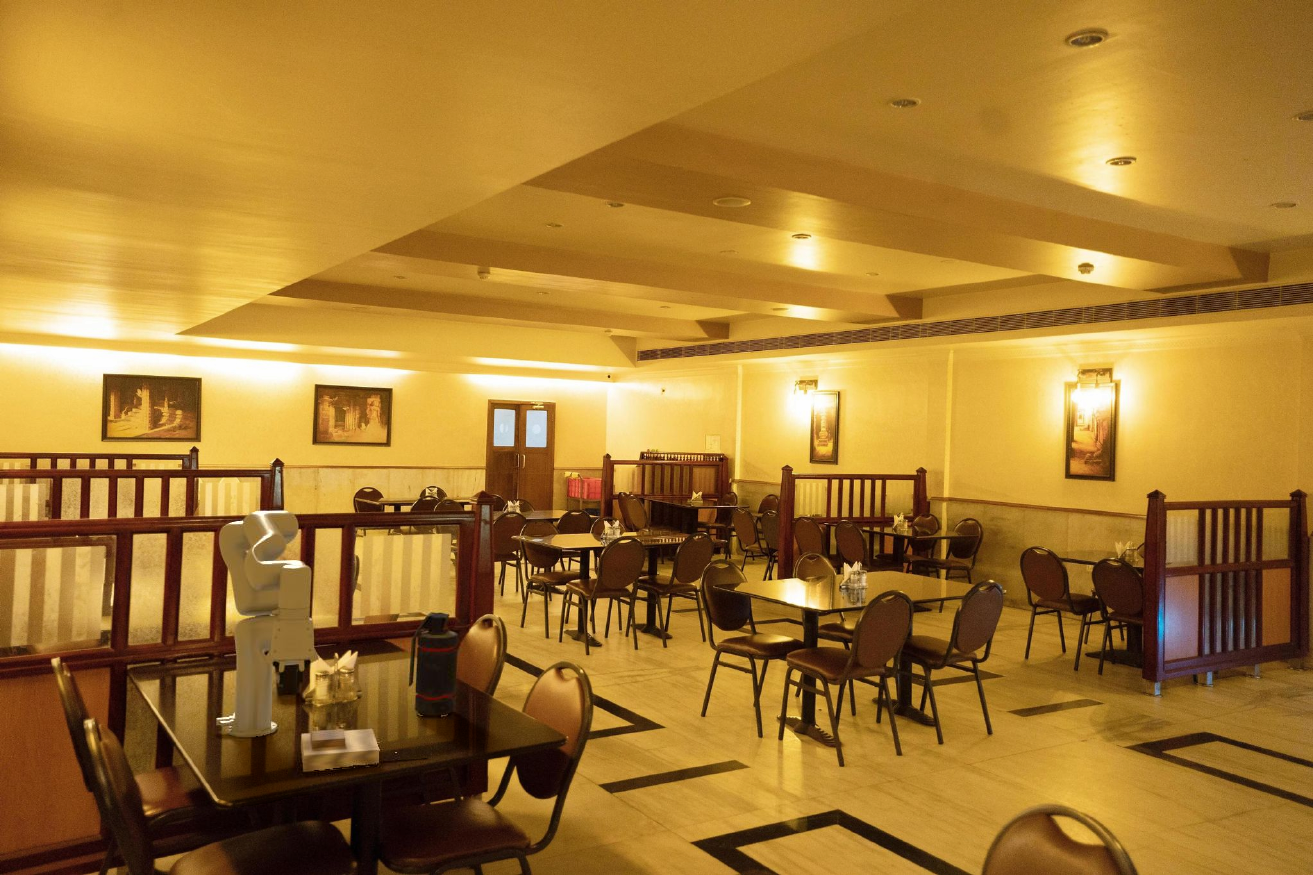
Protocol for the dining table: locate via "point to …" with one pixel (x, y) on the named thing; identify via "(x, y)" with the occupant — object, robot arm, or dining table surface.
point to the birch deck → (341, 751)
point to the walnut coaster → (327, 738)
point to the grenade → (434, 666)
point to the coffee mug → (288, 678)
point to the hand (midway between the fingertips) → (290, 685)
